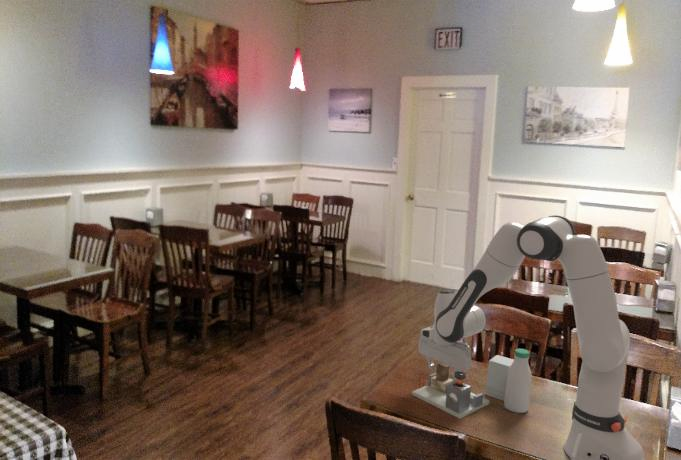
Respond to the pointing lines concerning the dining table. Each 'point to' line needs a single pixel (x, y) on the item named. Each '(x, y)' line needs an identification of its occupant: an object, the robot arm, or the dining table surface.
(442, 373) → the carriage
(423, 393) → the rail bed
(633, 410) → the dining table surface
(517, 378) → the milk bottle
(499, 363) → the supplement box
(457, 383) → the knob
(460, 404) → the cabinet
